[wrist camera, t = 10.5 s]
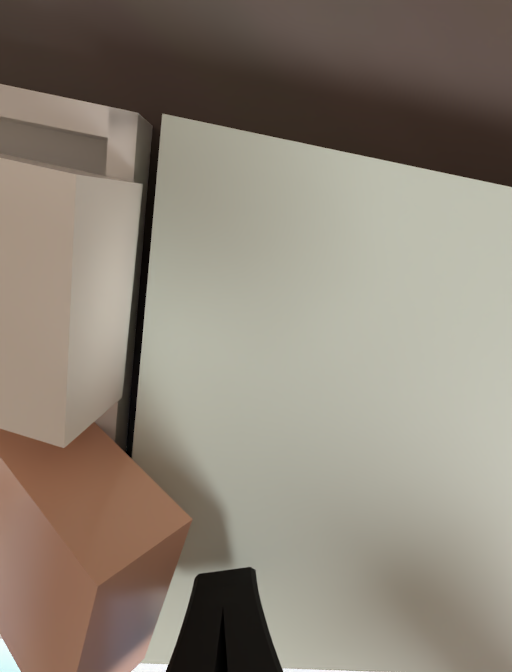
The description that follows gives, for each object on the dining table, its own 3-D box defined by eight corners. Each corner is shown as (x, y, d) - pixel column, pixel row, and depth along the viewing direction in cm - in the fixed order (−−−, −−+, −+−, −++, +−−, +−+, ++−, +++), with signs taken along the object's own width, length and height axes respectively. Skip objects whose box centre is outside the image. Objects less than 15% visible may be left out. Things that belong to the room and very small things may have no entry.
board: (717, 242, 10) (827, 253, 8) (509, 616, 15) (550, 677, 13) (176, 130, 8) (162, 113, 7) (129, 594, 13) (113, 662, 11)
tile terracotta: (192, 518, 8) (97, 586, 6) (144, 658, 9) (59, 740, 8) (67, 395, 10) (-29, 419, 8) (46, 525, 11) (-37, 568, 10)
